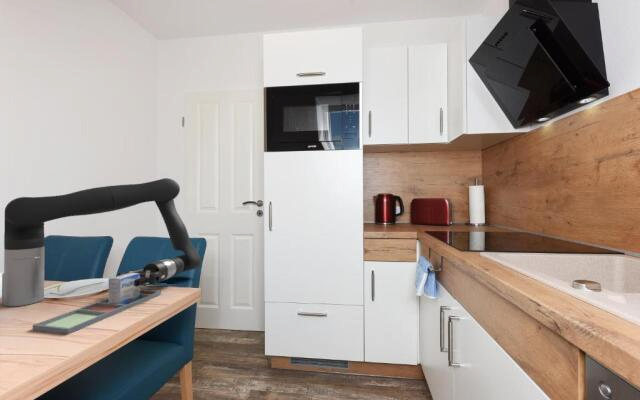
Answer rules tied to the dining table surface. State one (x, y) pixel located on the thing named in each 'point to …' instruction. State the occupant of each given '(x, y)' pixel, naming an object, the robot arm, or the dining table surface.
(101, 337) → the dining table surface
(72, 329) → the tray
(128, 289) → the medicine box
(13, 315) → the dining table surface
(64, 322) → the pad
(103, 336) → the dining table surface
